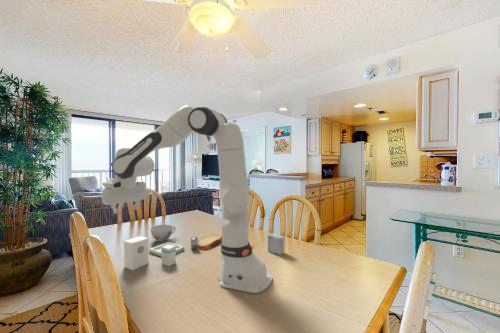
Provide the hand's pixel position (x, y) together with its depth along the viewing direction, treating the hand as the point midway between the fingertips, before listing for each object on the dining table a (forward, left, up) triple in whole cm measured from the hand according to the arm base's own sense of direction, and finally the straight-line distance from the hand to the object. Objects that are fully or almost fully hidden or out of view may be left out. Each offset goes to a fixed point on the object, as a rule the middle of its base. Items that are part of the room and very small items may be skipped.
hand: (126, 211), depth 111 cm
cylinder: (-17, -28, -24) cm, 41 cm away
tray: (-7, -18, -24) cm, 31 cm away
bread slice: (-19, -40, -25) cm, 51 cm away
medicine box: (-57, -47, -24) cm, 78 cm away
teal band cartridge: (-19, -9, -24) cm, 32 cm away
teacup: (+9, -29, -24) cm, 39 cm away
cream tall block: (-8, 0, -24) cm, 25 cm away
